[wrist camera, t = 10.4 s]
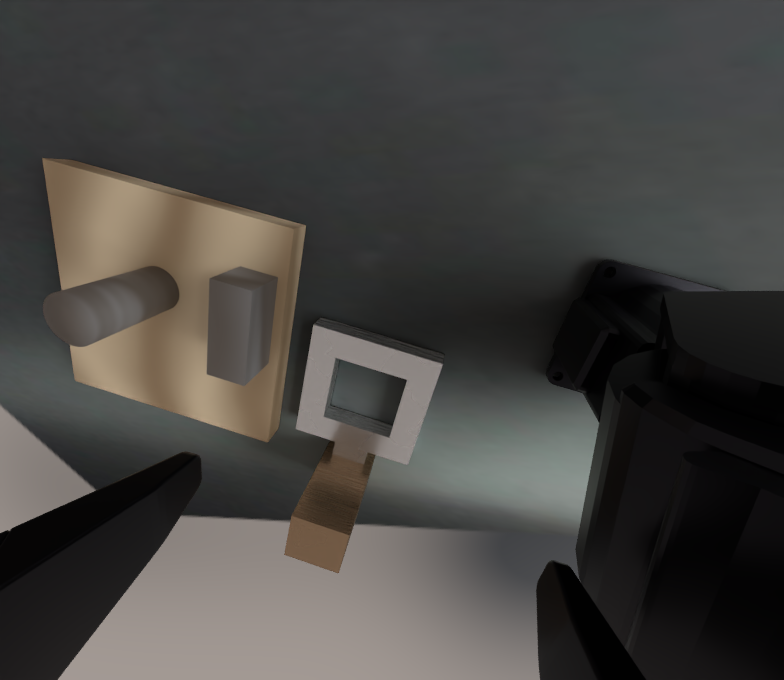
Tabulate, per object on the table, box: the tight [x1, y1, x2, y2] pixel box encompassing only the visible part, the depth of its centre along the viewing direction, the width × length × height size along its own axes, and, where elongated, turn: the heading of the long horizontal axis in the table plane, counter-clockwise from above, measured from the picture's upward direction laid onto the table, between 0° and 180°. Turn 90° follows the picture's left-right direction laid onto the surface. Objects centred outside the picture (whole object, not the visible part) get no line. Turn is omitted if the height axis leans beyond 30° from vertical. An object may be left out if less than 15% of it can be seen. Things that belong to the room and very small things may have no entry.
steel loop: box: [284, 317, 444, 573], centre depth 20 cm, size 7×11×6 cm, turn 166°
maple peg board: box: [42, 158, 306, 443], centre depth 19 cm, size 13×13×6 cm
